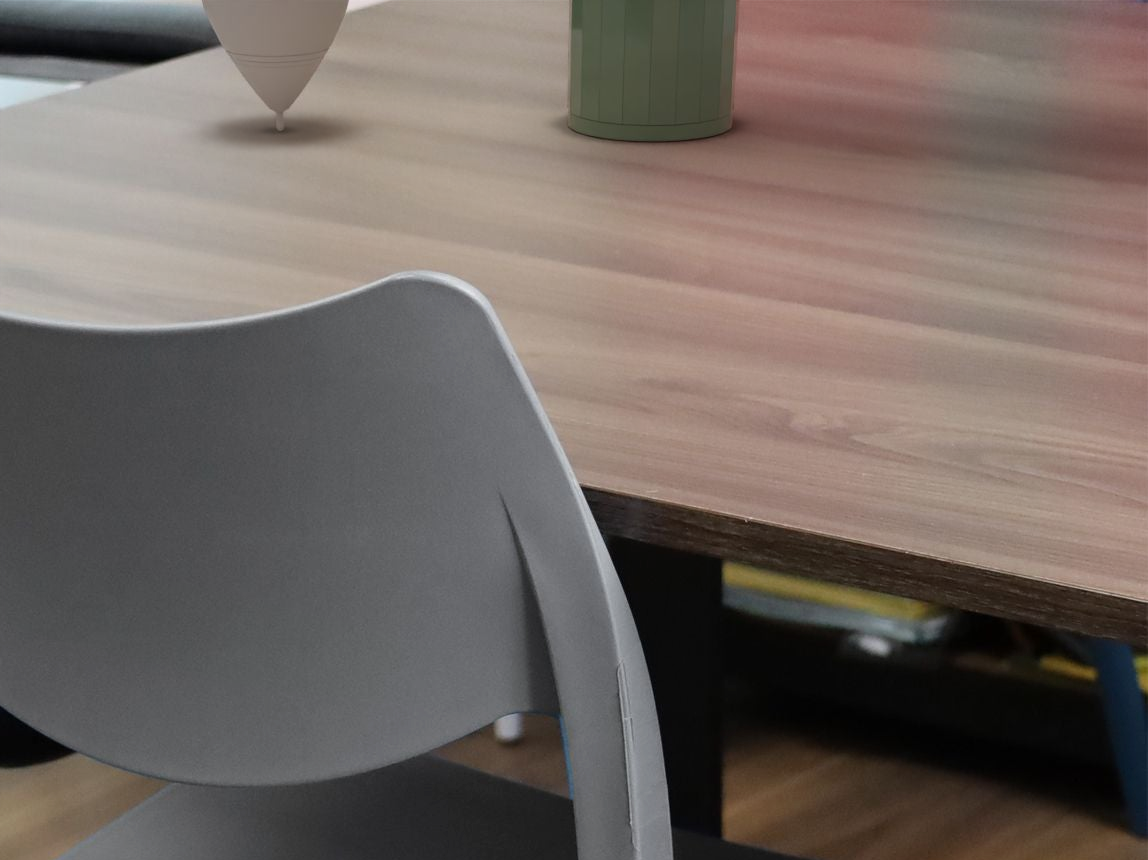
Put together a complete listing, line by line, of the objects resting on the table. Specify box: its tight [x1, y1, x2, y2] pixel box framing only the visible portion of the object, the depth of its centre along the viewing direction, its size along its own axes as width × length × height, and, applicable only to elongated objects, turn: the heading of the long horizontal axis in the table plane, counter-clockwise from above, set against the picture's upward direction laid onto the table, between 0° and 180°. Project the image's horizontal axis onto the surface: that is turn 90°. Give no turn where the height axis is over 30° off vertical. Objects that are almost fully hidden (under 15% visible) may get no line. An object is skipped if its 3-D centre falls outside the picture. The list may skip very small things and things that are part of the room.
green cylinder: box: [566, 0, 740, 142], centre depth 120 cm, size 9×9×11 cm
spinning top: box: [201, 0, 350, 132], centre depth 120 cm, size 8×8×12 cm
